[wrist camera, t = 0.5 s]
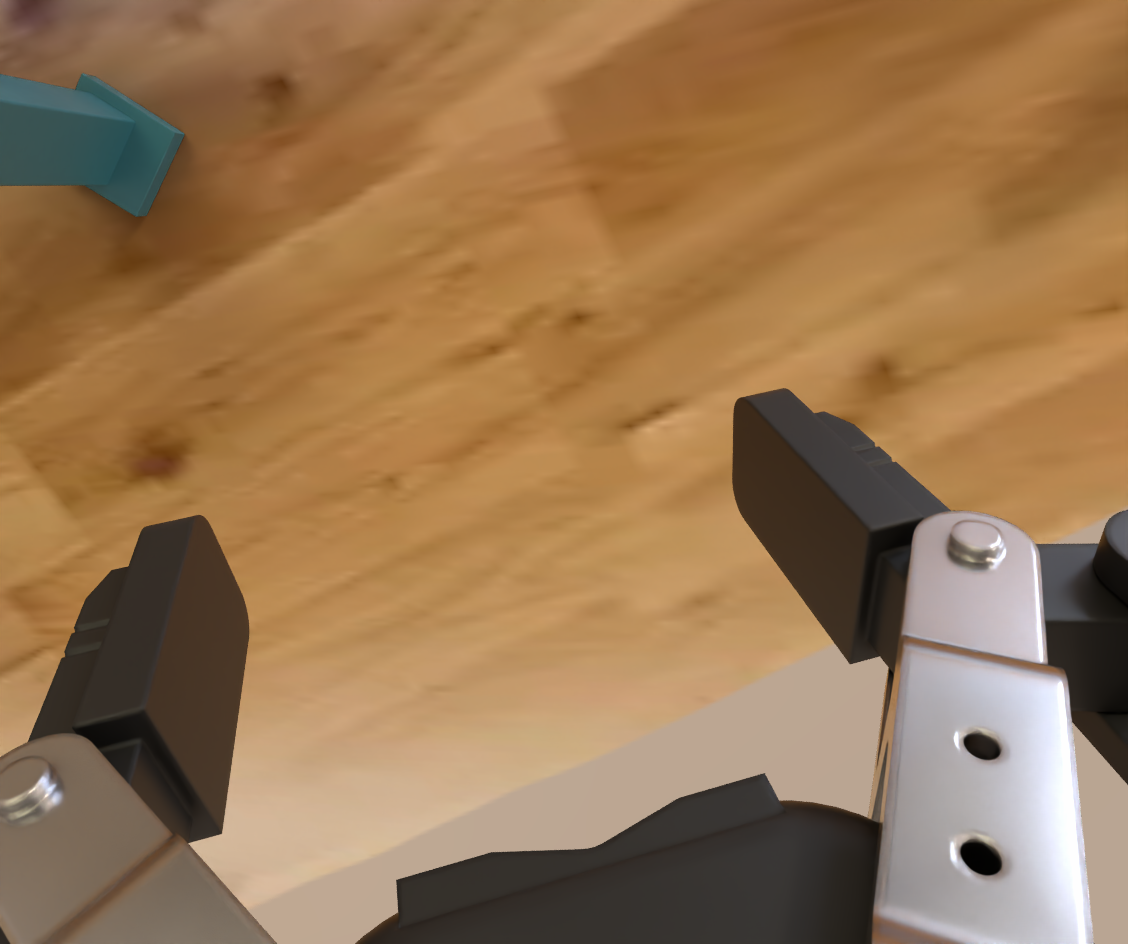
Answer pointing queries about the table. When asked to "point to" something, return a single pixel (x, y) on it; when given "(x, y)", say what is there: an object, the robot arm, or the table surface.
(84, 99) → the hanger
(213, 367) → the table surface
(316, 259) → the table surface
